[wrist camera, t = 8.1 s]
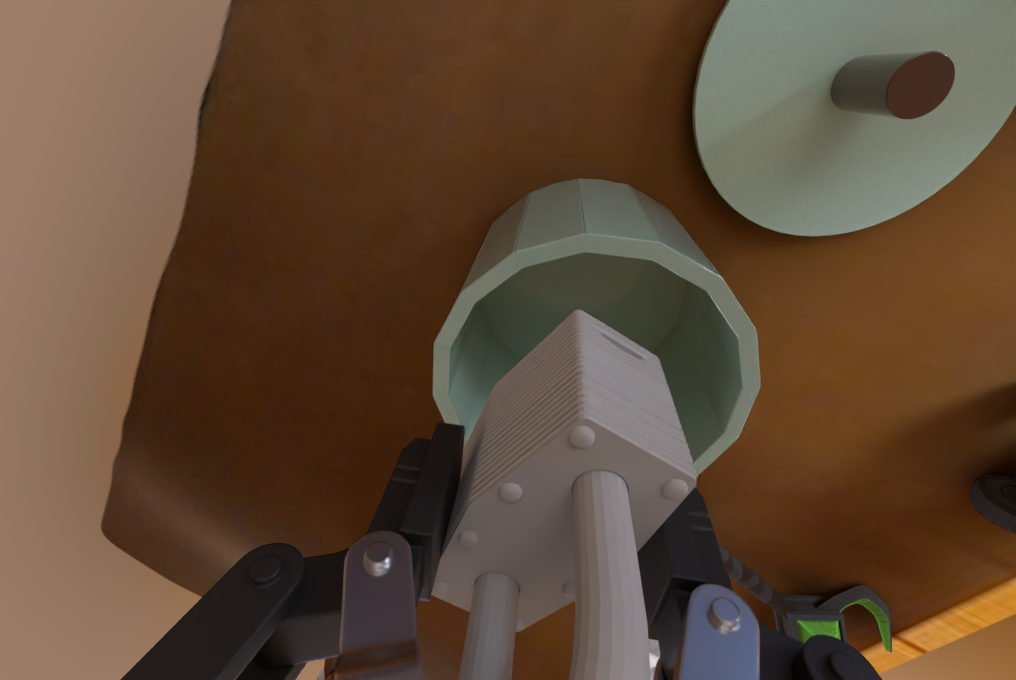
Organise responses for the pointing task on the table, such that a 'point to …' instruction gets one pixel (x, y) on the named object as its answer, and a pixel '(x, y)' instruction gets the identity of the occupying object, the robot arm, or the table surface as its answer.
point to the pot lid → (848, 105)
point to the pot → (601, 306)
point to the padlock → (565, 502)
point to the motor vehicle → (996, 500)
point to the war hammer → (810, 606)
